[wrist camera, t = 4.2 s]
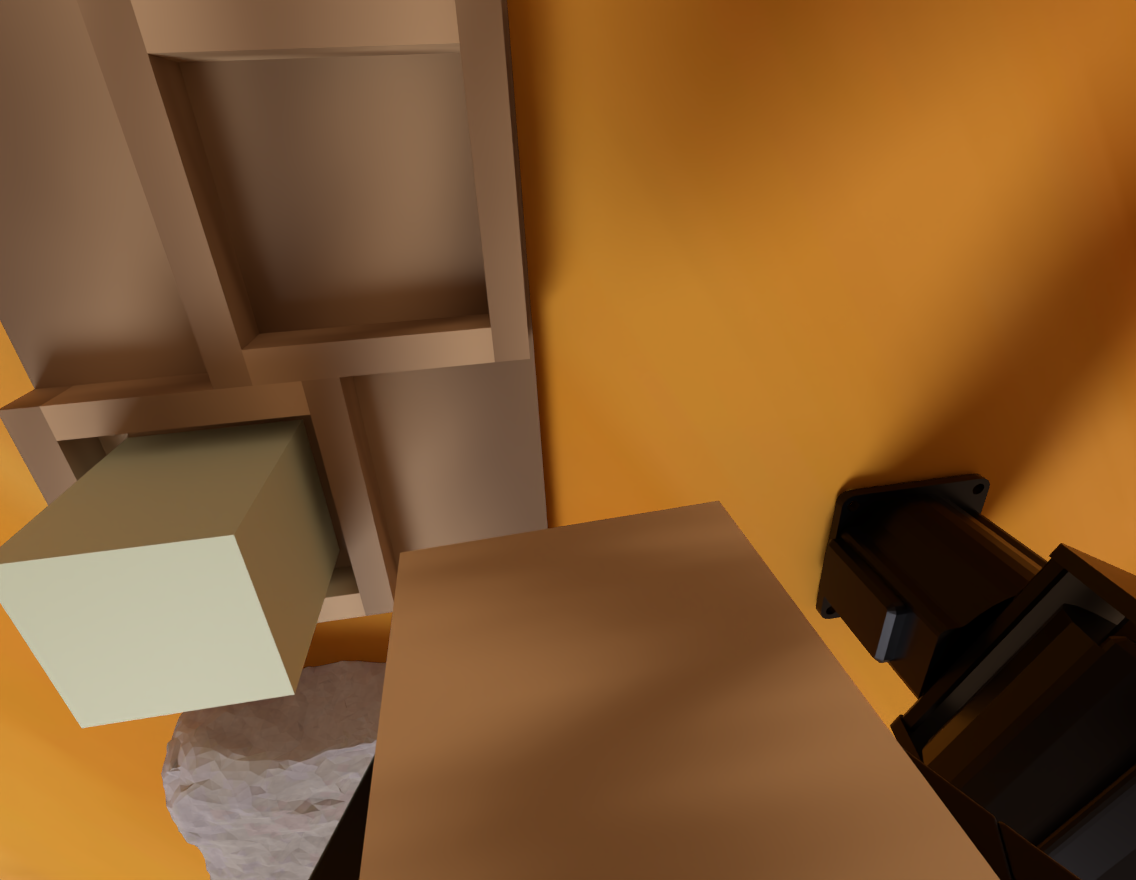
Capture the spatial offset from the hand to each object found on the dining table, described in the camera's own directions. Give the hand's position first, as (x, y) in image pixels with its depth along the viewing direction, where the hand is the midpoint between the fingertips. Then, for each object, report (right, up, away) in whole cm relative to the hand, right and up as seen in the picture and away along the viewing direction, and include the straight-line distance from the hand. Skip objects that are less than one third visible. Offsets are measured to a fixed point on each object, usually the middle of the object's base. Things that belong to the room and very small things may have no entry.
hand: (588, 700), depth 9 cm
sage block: (-11, +2, +10) cm, 15 cm away
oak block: (0, 0, +1) cm, 1 cm away
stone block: (-11, -10, +17) cm, 23 cm away
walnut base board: (-8, +7, +9) cm, 14 cm away
